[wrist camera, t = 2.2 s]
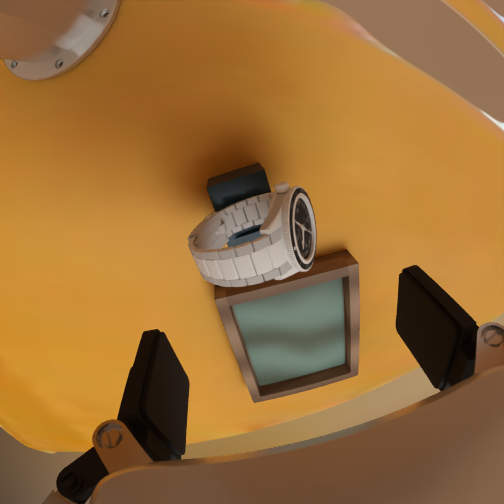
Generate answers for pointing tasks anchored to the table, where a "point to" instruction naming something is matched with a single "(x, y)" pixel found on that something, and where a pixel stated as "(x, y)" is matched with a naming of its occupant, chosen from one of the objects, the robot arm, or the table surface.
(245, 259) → the watch
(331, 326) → the watch tray
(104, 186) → the table surface
